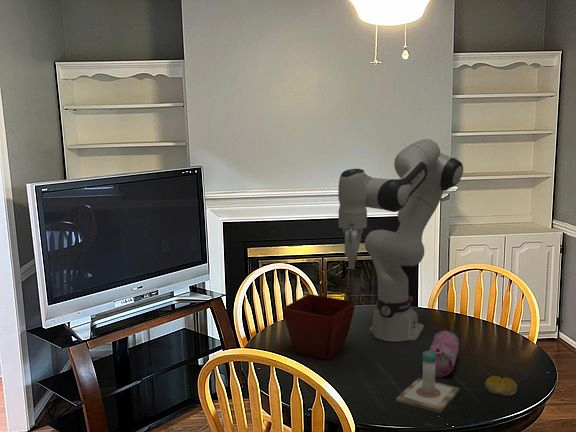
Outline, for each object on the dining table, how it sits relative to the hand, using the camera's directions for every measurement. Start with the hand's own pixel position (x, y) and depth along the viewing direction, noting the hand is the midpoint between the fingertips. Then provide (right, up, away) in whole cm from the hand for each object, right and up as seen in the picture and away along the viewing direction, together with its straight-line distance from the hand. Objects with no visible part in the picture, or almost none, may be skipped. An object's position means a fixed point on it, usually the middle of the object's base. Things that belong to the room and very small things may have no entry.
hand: (352, 264), depth 192 cm
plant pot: (-9, -32, +21) cm, 40 cm away
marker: (+21, -36, -14) cm, 44 cm away
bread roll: (+43, -37, -10) cm, 58 cm away
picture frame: (+21, -38, -14) cm, 45 cm away
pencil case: (+30, -34, +8) cm, 46 cm away
